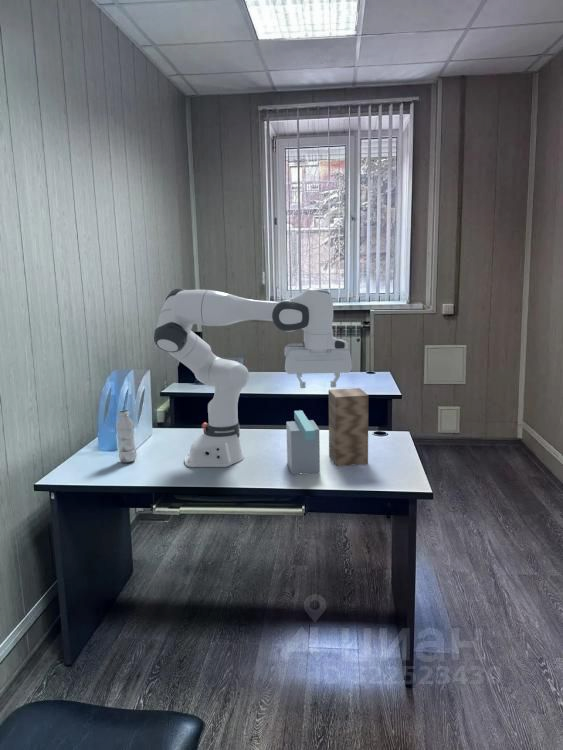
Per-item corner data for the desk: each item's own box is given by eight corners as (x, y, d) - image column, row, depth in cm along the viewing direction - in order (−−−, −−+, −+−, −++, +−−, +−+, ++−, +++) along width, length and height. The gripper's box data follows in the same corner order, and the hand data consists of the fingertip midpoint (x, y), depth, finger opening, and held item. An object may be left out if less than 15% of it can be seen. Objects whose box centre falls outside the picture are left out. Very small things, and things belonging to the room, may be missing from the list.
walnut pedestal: (336, 466, 198) (335, 397, 193) (329, 455, 210) (328, 389, 205) (367, 464, 200) (368, 395, 195) (359, 453, 211) (359, 388, 206)
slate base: (291, 474, 191) (291, 431, 188) (287, 462, 203) (286, 421, 200) (319, 472, 193) (319, 429, 190) (313, 461, 204) (313, 420, 201)
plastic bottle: (140, 461, 209) (136, 410, 205) (124, 466, 204) (120, 414, 200) (131, 457, 213) (127, 408, 209) (115, 462, 208) (111, 411, 205)
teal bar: (306, 439, 178) (306, 431, 178) (294, 418, 204) (294, 410, 203) (315, 439, 179) (315, 430, 178) (302, 418, 204) (302, 410, 203)
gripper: (285, 344, 160) (285, 390, 162) (353, 343, 162) (352, 388, 164) (283, 341, 166) (283, 386, 168) (348, 340, 168) (348, 384, 170)
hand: (318, 387), depth 166 cm, fingers open, 8 cm apart
